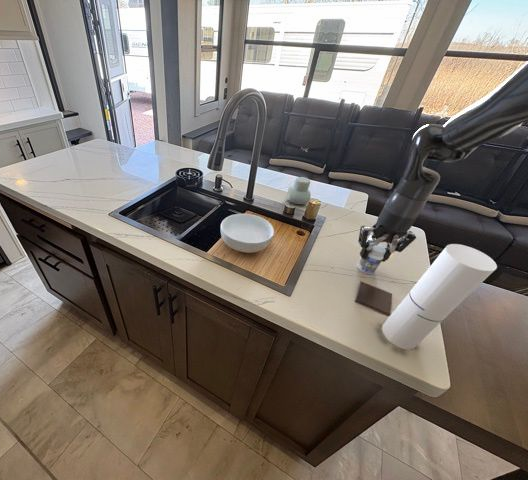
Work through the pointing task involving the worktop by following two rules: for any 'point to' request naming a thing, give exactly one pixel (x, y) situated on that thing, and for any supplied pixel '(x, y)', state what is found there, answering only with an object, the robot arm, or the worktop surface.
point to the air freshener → (299, 191)
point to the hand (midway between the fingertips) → (372, 258)
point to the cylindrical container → (437, 294)
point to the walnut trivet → (374, 298)
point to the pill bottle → (372, 260)
